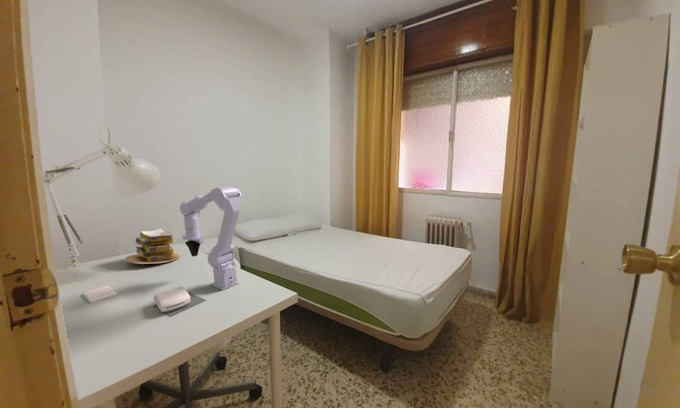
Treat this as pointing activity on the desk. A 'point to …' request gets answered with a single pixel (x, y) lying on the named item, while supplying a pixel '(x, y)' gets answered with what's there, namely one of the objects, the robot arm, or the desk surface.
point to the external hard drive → (99, 294)
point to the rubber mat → (194, 301)
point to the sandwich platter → (153, 248)
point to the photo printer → (172, 299)
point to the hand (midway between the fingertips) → (194, 255)
